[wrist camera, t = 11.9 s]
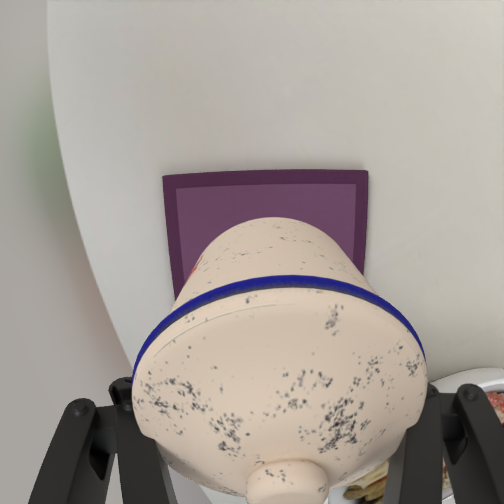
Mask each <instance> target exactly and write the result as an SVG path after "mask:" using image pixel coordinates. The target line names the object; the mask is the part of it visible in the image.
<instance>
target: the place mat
mask: <svg viewBox="0 0 504 504" xmlns="http://www.w3.org/2000/svg"><path fill="white" fill-rule="evenodd" d="M162 178H163V192H164V204H165V216H166V226H167V236H168V246H169V255H170V263H171V271H172V279H173V287H174V294H175V301H176V300H177V298H178V296H179V294H180V292H181V290H182V288H183V287H184V285H185V283H186V281H187V279H188V277H189V276H190V274H191V272H192V270H193V268H194V266H195V265H196V263H197V261H198V259H199V257H200V256H201V254H202V253H203V252H204V250H205V249H206V248H207V247H208V246H209V244H210V243H211V242H212V241H214V240H215V239H216V238H217V237H218V236H220V235H221V234H222V233H224V232H225V231H227V230H229V229H230V228H232V227H234V226H236V225H238V224H241V223H244V222H247V221H250V220H254V219H259V218H266V217H280V218H289V219H294V220H298V221H302V222H304V223H307V224H310V225H312V226H314V227H316V228H318V229H319V230H321V231H322V232H324V233H325V234H327V235H328V236H329V237H330V238H332V239H333V240H334V241H335V242H336V243H337V244H338V245H339V247H340V248H341V249H342V250H343V252H344V253H345V254H346V255H347V257H348V258H349V259H350V260H351V262H352V263H353V264H354V265H355V267H356V268H357V269H358V270H359V272H360V273H361V274H362V276H363V271H364V259H365V245H366V228H367V205H368V171H366V170H326V169H291V170H248V171H224V172H206V173H190V174H176V175H165V176H163V177H162Z"/></svg>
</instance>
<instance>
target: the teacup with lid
mask: <svg viewBox="0 0 504 504" xmlns="http://www.w3.org/2000/svg"><path fill="white" fill-rule="evenodd" d="M427 384H428V376H427V368H426V360H425V354H424V350H423V347H422V344H421V342H420V340H419V338H418V336H417V333H416V332H415V330H414V329H413V327H412V326H411V324H410V323H409V321H408V320H407V319H406V318H405V317H404V316H403V315H402V314H401V313H400V312H399V311H398V310H397V309H396V308H395V307H393V306H392V305H391V304H390V303H388V302H387V301H385V300H384V299H382V298H381V297H379V296H378V295H377V294H376V292H375V291H374V290H373V288H372V287H371V286H370V285H369V283H368V282H367V281H366V279H365V278H364V277H363V276H362V274H361V273H360V272H359V270H358V269H357V268H356V267H355V265H354V264H353V263H352V262H351V260H350V259H349V258H348V257H347V255H346V254H345V253H344V252H343V250H342V249H341V248H340V247H339V245H338V244H337V243H336V242H335V241H334V240H333V239H332V238H330V237H329V236H328V235H327V234H325V233H324V232H322V231H321V230H319V229H318V228H316V227H314V226H312V225H310V224H307V223H304V222H302V221H298V220H294V219H289V218H280V217H266V218H259V219H254V220H250V221H247V222H244V223H241V224H238V225H236V226H234V227H232V228H230V229H229V230H227V231H225V232H224V233H222V234H221V235H220V236H218V237H217V238H216V239H215V240H214V241H212V242H211V243H210V244H209V246H208V247H207V248H206V249H205V250H204V252H203V253H202V254H201V256H200V257H199V259H198V261H197V263H196V265H195V266H194V268H193V270H192V272H191V274H190V276H189V277H188V279H187V281H186V283H185V285H184V287H183V288H182V290H181V292H180V294H179V296H178V298H177V300H176V302H175V303H174V305H173V307H172V309H171V311H170V313H169V315H168V316H167V317H166V318H165V319H164V320H162V321H161V322H160V323H159V325H158V326H157V327H156V328H155V329H154V330H153V331H152V332H151V334H150V335H149V337H148V338H147V339H146V341H145V342H144V344H143V346H142V348H141V350H140V352H139V354H138V356H137V359H136V362H135V365H134V370H133V375H132V403H133V409H134V413H135V417H136V420H137V423H138V426H139V428H140V430H141V432H142V434H144V435H145V436H147V437H150V438H152V439H155V442H156V444H157V447H158V449H159V452H160V454H161V456H162V459H163V461H164V462H165V463H166V464H167V465H169V466H170V467H171V468H172V469H174V470H175V471H177V472H178V473H180V474H181V475H183V476H184V477H186V478H188V479H190V480H192V481H194V482H196V483H198V484H200V485H202V486H205V487H207V488H210V489H212V490H215V491H219V492H222V493H226V494H230V495H234V496H240V497H246V500H247V503H248V504H323V503H324V502H325V501H326V499H327V497H328V495H329V490H332V489H335V488H338V487H341V486H343V485H346V484H348V483H350V482H352V481H355V480H357V479H359V478H360V477H362V476H364V475H366V474H367V473H369V472H371V471H372V470H374V469H375V468H377V467H378V466H379V465H381V464H382V463H383V462H385V461H386V460H387V459H388V458H389V457H390V456H392V455H393V454H394V453H395V452H396V450H397V449H398V447H399V445H400V442H401V440H402V438H403V436H404V434H405V432H406V429H407V428H409V427H411V426H413V425H414V424H416V423H417V421H418V420H419V418H420V415H421V412H422V410H423V407H424V403H425V399H426V393H427Z"/></svg>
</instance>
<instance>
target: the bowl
mask: <svg viewBox="0 0 504 504" xmlns="http://www.w3.org/2000/svg"><path fill="white" fill-rule="evenodd" d="M466 383H472V384H475V385H478V386H479V387H481V388H482V389H483V391H484V392H485V394H486V395H487V397H488V399H489V401H490V403H491V405H492V406H493V408H494V410H495V412H496V414H497V416H498V418H499V420H500V422H501V424H502V425H503V427H504V369H500V368H488V367H487V368H476V369H471V370H466V371H462V372H458V373H455V374H452V375H449V376H447V377H444V378H442V379H439V380H437V381H434V382H432V383H430V384H432V385H434V386H435V387H436V388H437V389H438V391H439V392H441V393H456V392H457V390H458V387H460V386H461V385H463V384H466ZM389 460H390V457H389V458H388V459H387V460H386V461H385V462H383V463H382V464H381V465H379V466H378V467H377V468H375V469H374V470H372V471H371V472H369V473H367V474H366V475H364V476H362V477H360V478H359V479H357V480H355V481H352V482H350V483H348V484H346V485H343V486H341V487H338V488H335V489H332V490H329V495H328V497H327V499H326V501H325V502H324V503H323V504H382V501H383V496H384V491H385V485H386V479H387V473H388V467H389ZM452 496H453V491H452V487H451V483H450V480H449V476H448V472H447V469H446V466H445V462H444V459H443V488H442V502H443V501H444V500H446V499H448V498H450V497H452Z"/></svg>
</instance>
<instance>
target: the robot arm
mask: <svg viewBox="0 0 504 504" xmlns="http://www.w3.org/2000/svg"><path fill="white" fill-rule="evenodd" d="M109 393H110V396H111V398H112V401H113V404H114V405H112V406H104V407H96V406H95V404H94V402H93V401H91V400H90V399H86V398H81V399H76V400H74V401H72V402H71V403H69V404H68V405H67V407H66V409H65V411H64V413H63V415H62V418H61V420H60V422H59V425H58V427H57V429H56V431H55V434H54V436H53V438H52V441H51V443H50V446H49V448H48V451H47V453H46V456H45V458H44V461H43V463H42V466H41V469H40V471H39V474H38V477H37V479H36V482H35V485H34V488H33V490H32V493H31V496H30V499H29V502H28V504H105V501H106V495H107V490H108V485H109V481H110V475H111V471H112V466H113V462H114V457H115V453H117V454H118V465H119V474H120V483H121V491H122V498H123V504H178V503H177V500H176V496H175V492H174V489H173V485H172V481H171V478H170V474H169V470H168V466H167V464H166V463H165V462H164V461H163V459H162V456H161V454H160V452H159V449H158V447H157V444H156V442H155V439H152V438H150V437H147V436H145V435H144V434H142V432H141V430H140V428H139V426H138V423H137V420H136V417H135V413H134V409H133V403H132V377H124V378H119V379H117V380H116V381H114V382H113V383H112V384H111V385H110V386H109ZM443 459H444V462H445V466H446V469H447V472H448V476H449V480H450V483H451V487H452V491H453V495H454V499H455V503H456V504H504V427H503V425H502V424H501V422H500V420H499V418H498V416H497V414H496V412H495V410H494V408H493V406H492V405H491V403H490V401H489V399H488V397H487V395H486V394H485V392H484V391H483V389H482V388H481V387H479V386H478V385H475V384H472V383H466V384H463V385H461V386H460V387H458V390H457V392H456V393H441V392H439V391H438V389H437V388H436V387H435V386H434V385H432V384H430V383H428V384H427V393H426V399H425V403H424V407H423V410H422V412H421V415H420V418H419V420H418V421H417V423H416V424H414V425H413V426H411V427H409V428H407V429H406V432H405V434H404V436H403V438H402V440H401V442H400V445H399V447H398V449H397V450H396V452H395V453H394V454H393V455H392V456H390V460H389V467H388V473H387V479H386V485H385V491H384V496H383V501H382V504H442V488H443Z"/></svg>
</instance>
